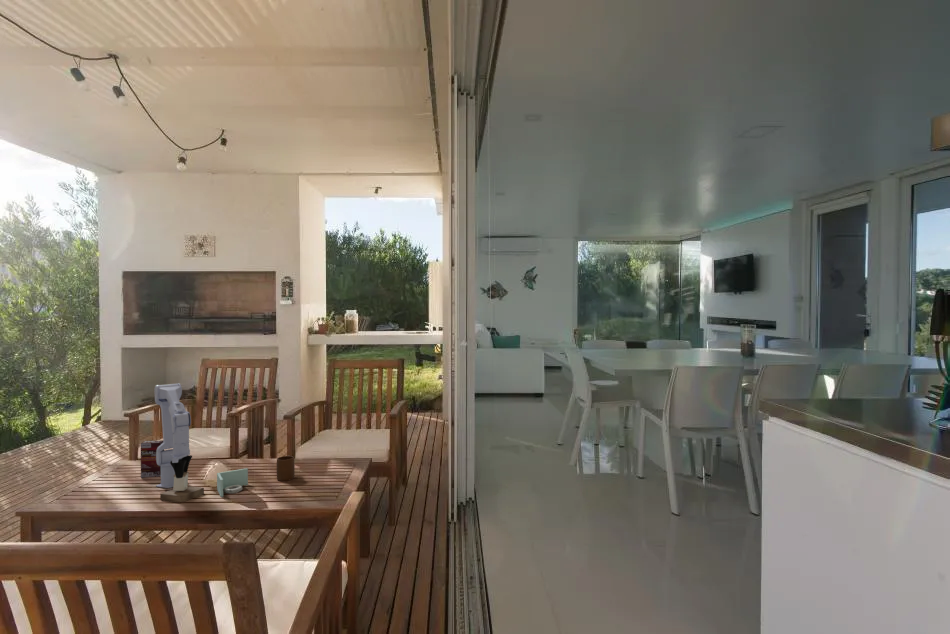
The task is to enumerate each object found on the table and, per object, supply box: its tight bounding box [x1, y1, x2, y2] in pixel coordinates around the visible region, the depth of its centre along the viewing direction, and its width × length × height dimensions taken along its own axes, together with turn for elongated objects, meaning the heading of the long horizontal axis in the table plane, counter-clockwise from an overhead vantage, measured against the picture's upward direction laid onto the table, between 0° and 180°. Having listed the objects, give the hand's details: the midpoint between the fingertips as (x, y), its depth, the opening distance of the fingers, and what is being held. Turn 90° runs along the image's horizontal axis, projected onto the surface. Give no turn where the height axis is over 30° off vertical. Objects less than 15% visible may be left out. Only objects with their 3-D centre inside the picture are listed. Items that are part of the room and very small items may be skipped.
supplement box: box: [140, 439, 165, 478], centre depth 245 cm, size 9×5×16 cm, turn 100°
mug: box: [276, 454, 296, 482], centre depth 238 cm, size 12×8×9 cm, turn 3°
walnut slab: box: [159, 485, 205, 503], centre depth 214 cm, size 11×11×3 cm
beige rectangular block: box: [172, 471, 189, 491], centre depth 214 cm, size 4×4×6 cm
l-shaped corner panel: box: [216, 467, 249, 498], centre depth 221 cm, size 12×12×8 cm
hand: (181, 476), depth 214 cm, fingers closed on beige rectangular block, 4 cm apart
